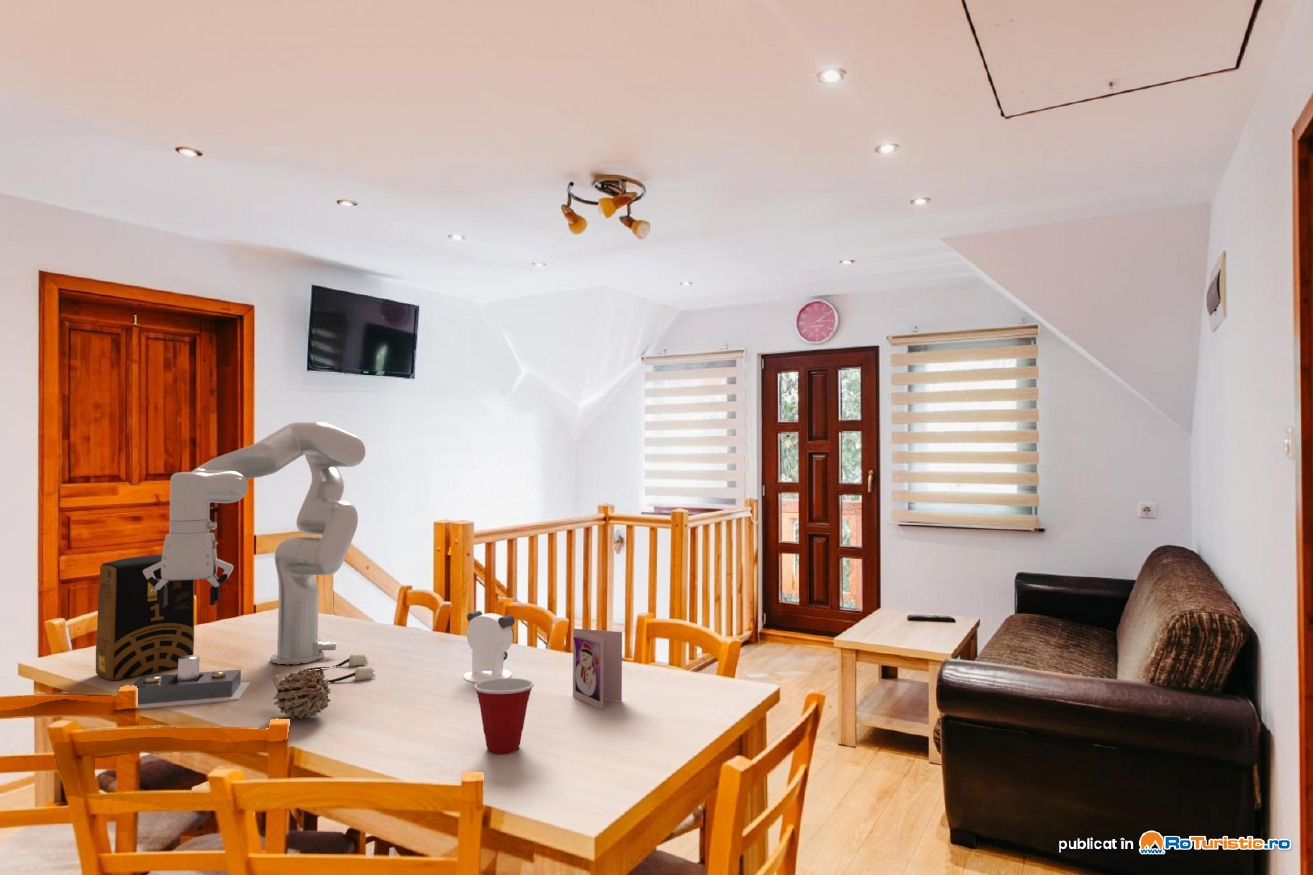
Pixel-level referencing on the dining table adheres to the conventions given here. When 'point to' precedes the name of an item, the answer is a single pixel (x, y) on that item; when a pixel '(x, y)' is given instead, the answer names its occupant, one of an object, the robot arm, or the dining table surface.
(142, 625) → the black product box
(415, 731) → the dining table surface
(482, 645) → the panda figurine
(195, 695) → the gray slotted block
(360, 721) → the dining table surface
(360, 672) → the cable
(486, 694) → the plastic cup
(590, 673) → the greeting card
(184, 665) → the pin
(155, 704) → the mat
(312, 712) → the pine cone
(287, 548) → the robot arm
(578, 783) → the dining table surface
